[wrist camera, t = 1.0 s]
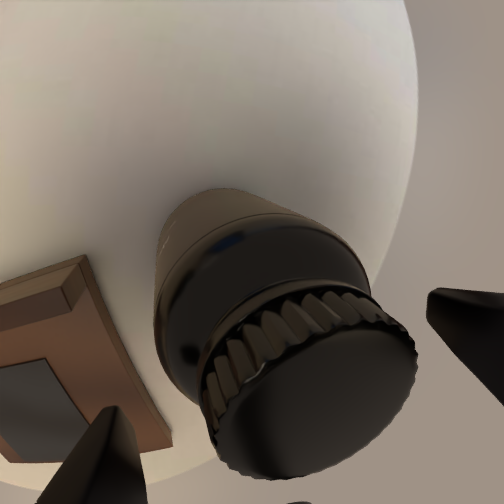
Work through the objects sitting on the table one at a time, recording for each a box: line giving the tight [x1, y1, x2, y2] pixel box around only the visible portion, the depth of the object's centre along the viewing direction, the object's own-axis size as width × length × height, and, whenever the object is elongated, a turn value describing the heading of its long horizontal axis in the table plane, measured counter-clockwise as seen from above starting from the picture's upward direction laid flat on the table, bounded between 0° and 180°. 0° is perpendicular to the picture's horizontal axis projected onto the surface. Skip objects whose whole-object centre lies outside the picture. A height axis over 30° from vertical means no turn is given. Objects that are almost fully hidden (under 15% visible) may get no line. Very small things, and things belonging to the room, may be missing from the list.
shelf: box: [0, 255, 173, 463], centre depth 13 cm, size 14×16×4 cm
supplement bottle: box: [153, 188, 418, 481], centre depth 11 cm, size 7×7×12 cm
